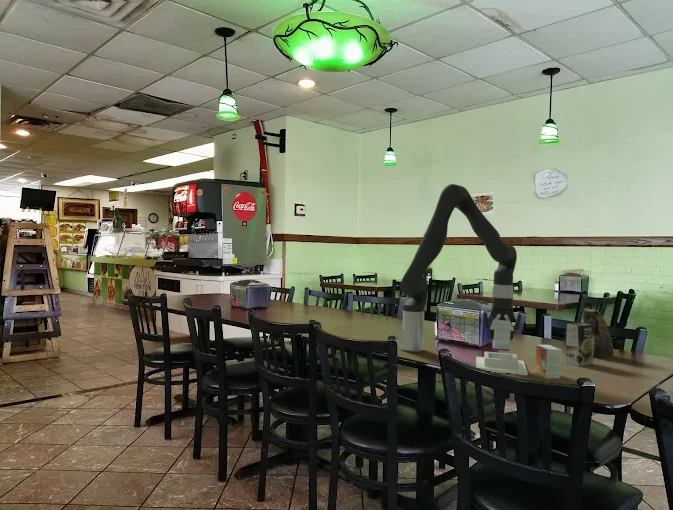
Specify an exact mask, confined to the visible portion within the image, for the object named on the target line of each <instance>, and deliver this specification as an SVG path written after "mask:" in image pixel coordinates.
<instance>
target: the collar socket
mask: <svg viewBox="0 0 673 510" xmlns="http://www.w3.org/2000/svg"><path fill="white" fill-rule="evenodd" d="M483 352H484V353H483V356H476V357H475V359H476V360H475V369H476V368H480V369H483V370H486V371H491V372H490V373H495V372H496V373H497V374H506V373H511V374H510V375H516V374H518V375H517V376H519V375H520V376H527V375H529V372H528V369H527V367H526V365H525V362H524V360H519V358H518V356H517V354H516V353H505V352H493V351H483Z"/></svg>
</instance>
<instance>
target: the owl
mask: <svg viewBox="0 0 673 510" xmlns="http://www.w3.org/2000/svg"><path fill="white" fill-rule="evenodd" d="M582 312H583V316H582V319H583V323H586V324H593V325H595V330H594V353H593V359H599V360H602V359H607V358H612V357H614V346H613V345H614V344H613V341H612V337H611V335H610V332H609V328H608V326H607V321H606V320H605V318H604V317H603V315H602V314H601V313H600V311H598V310H595V309H592V308H591V309H590V308H588V307H586V308H584V309H583V310H582Z"/></svg>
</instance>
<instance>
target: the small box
mask: <svg viewBox="0 0 673 510" xmlns="http://www.w3.org/2000/svg"><path fill="white" fill-rule="evenodd" d="M535 346H536V347H535V361H534V363H535V364H534V365H535V366H534V373H537V374H538V375H540V376H542V378H544V379H561V371H562V369H561V368H562V367H561V366H562V351H563V350H562V349H561V348H558V347H555V346H554V345H551V344H536V345H535Z"/></svg>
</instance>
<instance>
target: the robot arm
mask: <svg viewBox="0 0 673 510" xmlns="http://www.w3.org/2000/svg"><path fill="white" fill-rule="evenodd" d="M455 208H456V209H458V211H460V212H461V213H462V214H463V215H464V216H465V217H466V219H467V220H468V222H469V224H470V227H471V230H472V231H473V232H474V234H475V235H476V237H478V239H479V240H480V241H481V242H482V243H483V244H484V246H485V248H486V249H485V250H487V252H488V254H489V255H490V257H491V258H492V259H493V261H494V262H496V263H498V265H497V266H498V267H497V268H496V269H495V270H494V272H493V287H492V293H491V296H492V300H491V302H492V303H491V305H492V307H491V311H484V312H483V320H484V326H485V327H484V328H486V329H488V330H489V338H490V339H491V340H493V335H494V329H493V328H494V326H495V320H506V321H511V320H512V318H514V319H515V324H514V326H513V324H512V323H511V328H510V342H511V341H512V340H514V336H515V335H514V332H515V331H518V330H520V326H521V320H522V319H521V318H522V314H520V313H514V311H513V310H514V309H513V308H514V286H513V285H514V271H515V269H516V263H517V257H518V253H517V250H516V248H515V246H513V245H512V244H505V243H504V242H503V241H502V239H501V238H500V237H501V235H500V233H499V232H498V230H497V229H496V228H495V226H493V224H492V223H491V221H489V219H488V218H487V217H486V216H485V215H484V214H483V212H482V211H481V210H480V208H479V207H478V205H477V204H476V202H475V201H474V199H473V197H472V195H471V193H470V192H469V191H468V189H467V188H466V187H464V186H462V185H458V184H455V183H450V184H447V185H446V186H445V187H444V188H443V189H442V191H441V193H440V195H439V199H438V201H437V204H436V207H435V211H433V215H432V217H431V219H430V222H429V224H428V225H427V228H426V230H425V232H424V234H423V236H422V239H421V241H420V244H419V246H418V248H417V250H416V252H415V254H414V256H413V259H412V261H411V263H410V265H409V267H408V268H407V270H406V271H405V274H404V275H403V277H402V279H401V281H400V290H401V292H402V293H403V295H405V296H407V299H406V301H405V302H404V303H403V305H402V327H401V339H400V341H401V343H400V344H401V345H400V350H402V351H407V352H417V353H418V352H422V351H423V350H424V334H425V333H424V332H425V331H424V330H425V329H424V328H425V307H426V305H427V299H428V281H427V279H426V277H425V276H424V275H425V272H426V271H427V269H428V268H429V267H430V265H431V264H432V263H433V262H434V261H435V260H436V259H437V257H438V256H439V255H440V253H441V251H442V249H443V247H444V245H445V243H446V240H447V238H448V231H449V230H448V228H449V227H448V225H449V220H450V218H451V215H452V213H453V212H454V210H455ZM490 316H491V317H492V318H493V320H492V322H491V324H489V321H488V318H490ZM494 319H495V320H494Z"/></svg>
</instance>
